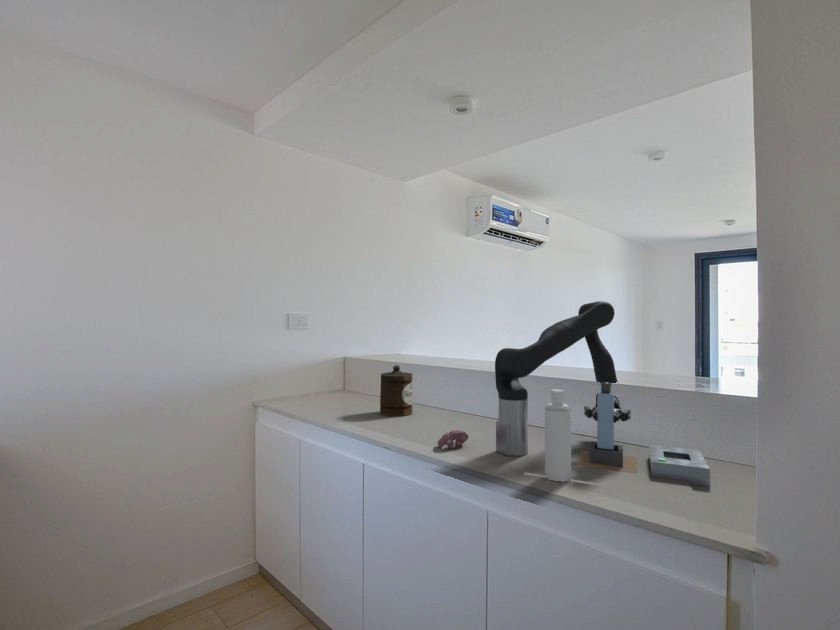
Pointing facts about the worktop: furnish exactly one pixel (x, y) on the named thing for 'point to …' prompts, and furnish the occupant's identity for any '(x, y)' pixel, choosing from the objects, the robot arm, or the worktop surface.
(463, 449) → the worktop surface
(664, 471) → the port block
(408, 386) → the wooden container
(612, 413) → the plug
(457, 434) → the raw steak
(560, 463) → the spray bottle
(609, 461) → the holster
